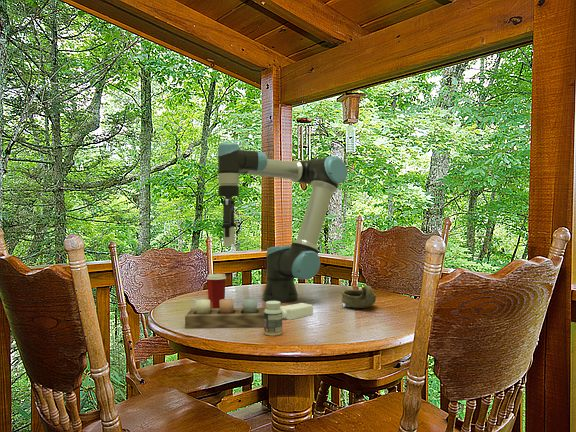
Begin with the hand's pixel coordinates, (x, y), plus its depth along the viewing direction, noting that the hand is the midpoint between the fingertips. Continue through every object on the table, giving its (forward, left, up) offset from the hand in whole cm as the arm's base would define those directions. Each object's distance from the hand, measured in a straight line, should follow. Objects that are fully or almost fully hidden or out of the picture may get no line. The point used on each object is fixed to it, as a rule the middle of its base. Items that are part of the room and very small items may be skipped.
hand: (229, 245), depth 169 cm
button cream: (+8, +12, -22) cm, 27 cm away
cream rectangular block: (-24, +3, -26) cm, 36 cm away
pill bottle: (-16, +26, -26) cm, 40 cm away
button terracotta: (0, +12, -22) cm, 25 cm away
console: (0, +12, -26) cm, 29 cm away
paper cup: (+6, -8, -26) cm, 28 cm away
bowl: (-50, -9, -26) cm, 57 cm away
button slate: (-8, +12, -22) cm, 27 cm away
